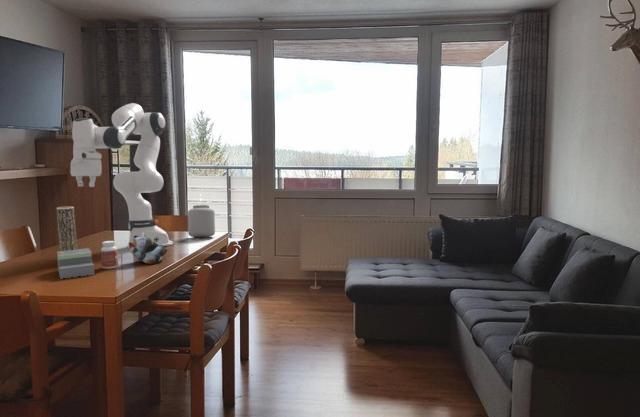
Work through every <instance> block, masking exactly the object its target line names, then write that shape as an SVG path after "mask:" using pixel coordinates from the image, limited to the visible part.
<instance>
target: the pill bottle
mask: <svg viewBox="0 0 640 417" xmlns="http://www.w3.org/2000/svg"><path fill="white" fill-rule="evenodd" d="M101 245H102V247H101V248H100V258H101V267H102V269H104V270H106V269H107V270H108V269H109V270H111V269H116V268H117V267H119V263H118V262H119V260H118V248H117V246H115V245H116V243H115V241H114V240H106V241H102V244H101Z"/></svg>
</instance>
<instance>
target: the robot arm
mask: <svg viewBox="0 0 640 417" xmlns="http://www.w3.org/2000/svg"><path fill="white" fill-rule="evenodd" d="M111 124H112V125H113V126H98V125H96V124H95V123H94V120H93V118H89V117H83V118H81V117H80V118H75V119H74V120H73V122H72V128H71V130H72V131H71V132H72V133H71V135H72V140H73V147H72V154H73V156H72V157H73V158H72V159H71V160H70V175H71V177H75V180H76V182H77V187H84V182H83V177H89V182H88V187H90V188H94V187H95V182H96V179H97V177H100V176H102V171H103V170H102V160H101V159H102V154H101V153H100V152H98V151H97V149H117V150H118V149H121V148H122V147H123V146H124V144H125V142H126V140H127V139H128V137H130V136H138V135H139V136H140V140H139V142H138V145H137V148H136V149H135V155H134V156H133V163H134V165H135V166H136V167H137V168H138V169H139V170H138V171H137V170H136V171H123V172H120V173H119V172H117V173H116V174H115V176H114V177H113V182H112V183H113V187H114V189H115V190H116V191H117V192H119V193H120V194H121V195H122V196H123V198H124V200H125V201H126V202H125V203H126V205H127V210H128V231H129V238H128V243H129V242H132V243H133V240H134V236H135V235H136V236H139V237H142V236H143V235H145V236H146V237H148V238H149V239H150V240H151V241H152V242H155V243H160V244H162V245H163V246H164V247H168V246H173V245H174V241H172V240H171V239H169V235H168V233H167V231H166V230H164V229H162V228H161V227H159V226H158V224H159V223H160V222H159V220H158V219H154V218H153V211H152V204H151V203H150V202H149V201H148V200H146V199H145V198H144V197H143V196H142V194H145V193H146V194H151V193H152V194H153V193H156V192H160V191H161V190H162V189H163V187H164V182H165V181H164V178H163V175H162V174H161V173H159V171H157V161H158V157H159V153H160V149H161V139H160V136H161V135H162V134H163V132H164V131H165V128H166V124H167V123H166V119H165V117H164V115H163V114H162V113H161V112H157V111H154V112H153V111H152V112H145V111H144V109H143V108H142V106H141V105H140V104H138V103H134V102H131V103H127V104H125V105H123V106H121V107H119V108H117V109H116V110H115V111H114V112H113V113H112V115H111ZM141 193H142V194H141ZM127 248H128V249H129V244H127Z"/></svg>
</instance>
